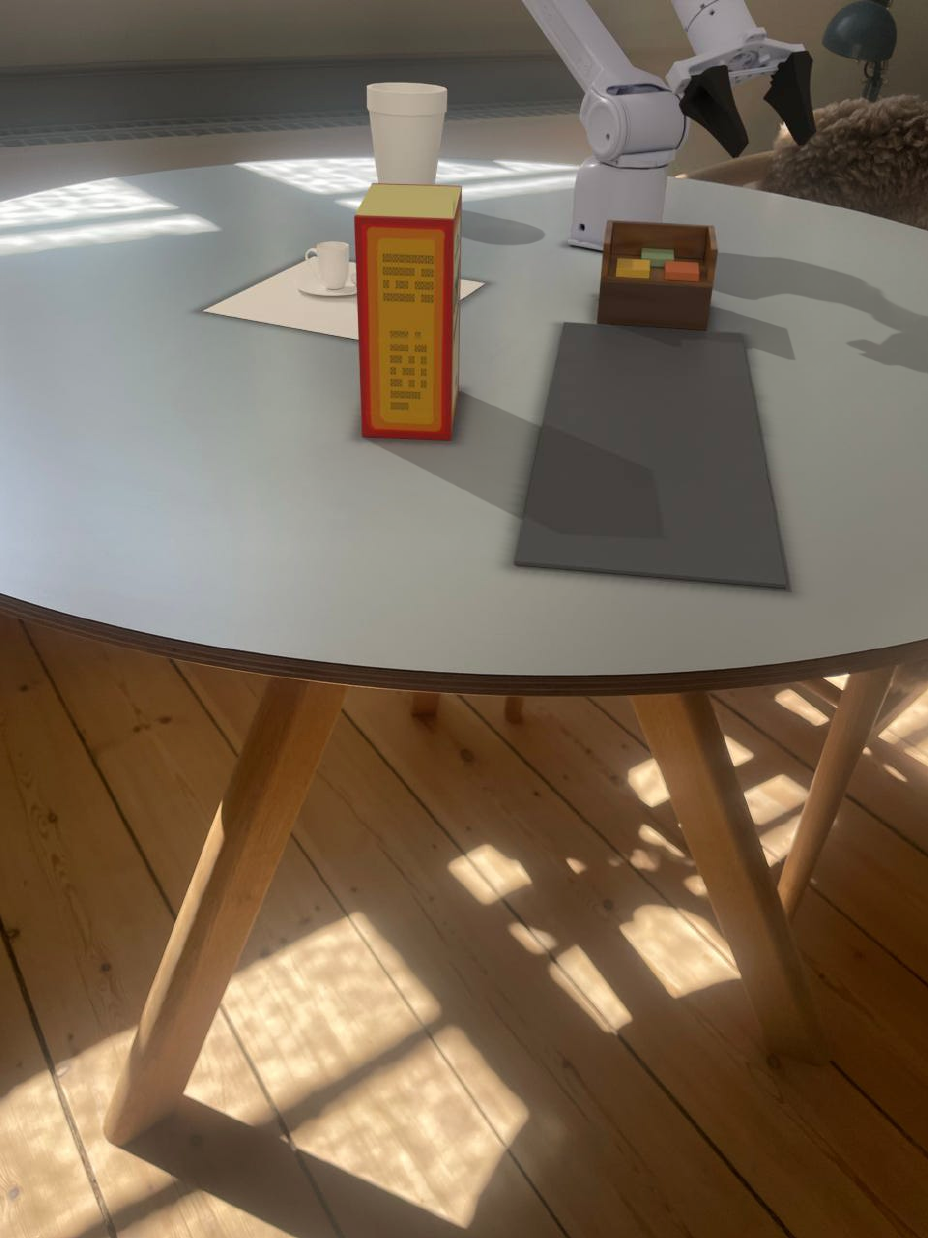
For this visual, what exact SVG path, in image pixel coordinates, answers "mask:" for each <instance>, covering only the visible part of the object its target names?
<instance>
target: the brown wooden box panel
mask: <svg viewBox="0 0 928 1238" xmlns="http://www.w3.org/2000/svg"><path fill="white" fill-rule="evenodd" d="M713 290H714V286H713V287H709V286H692V285H675V284H658V283H642V282H625V281H608V280H601V279H600V282H599V294H598V307H597V318H596V324H602V325H618V326H633V327H649V328H665V329H681V330H697V331H708V324H709V319H710V317H709V316H710V309H711V303H712V297H713V296H712V295H713Z"/></svg>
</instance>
